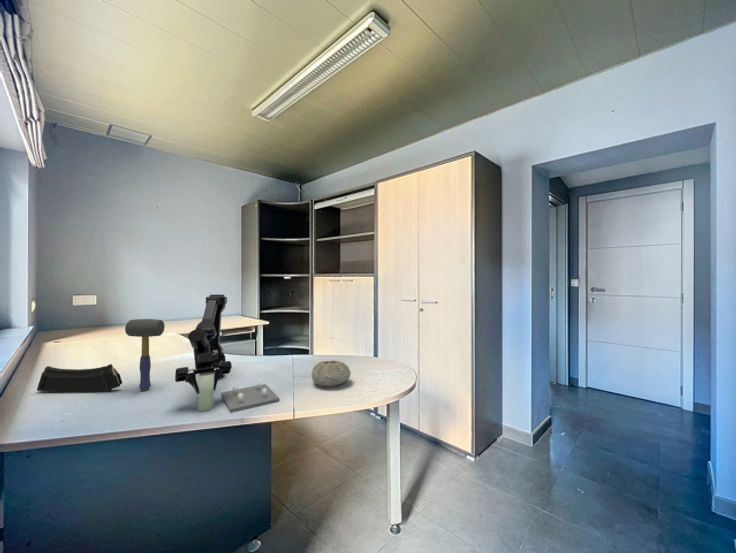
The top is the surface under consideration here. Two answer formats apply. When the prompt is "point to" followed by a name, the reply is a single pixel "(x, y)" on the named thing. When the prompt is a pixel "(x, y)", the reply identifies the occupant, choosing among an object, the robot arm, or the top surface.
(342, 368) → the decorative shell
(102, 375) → the magazine
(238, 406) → the peg board
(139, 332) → the rubber mallet
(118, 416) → the top surface
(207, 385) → the post
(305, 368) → the top surface
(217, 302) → the robot arm
